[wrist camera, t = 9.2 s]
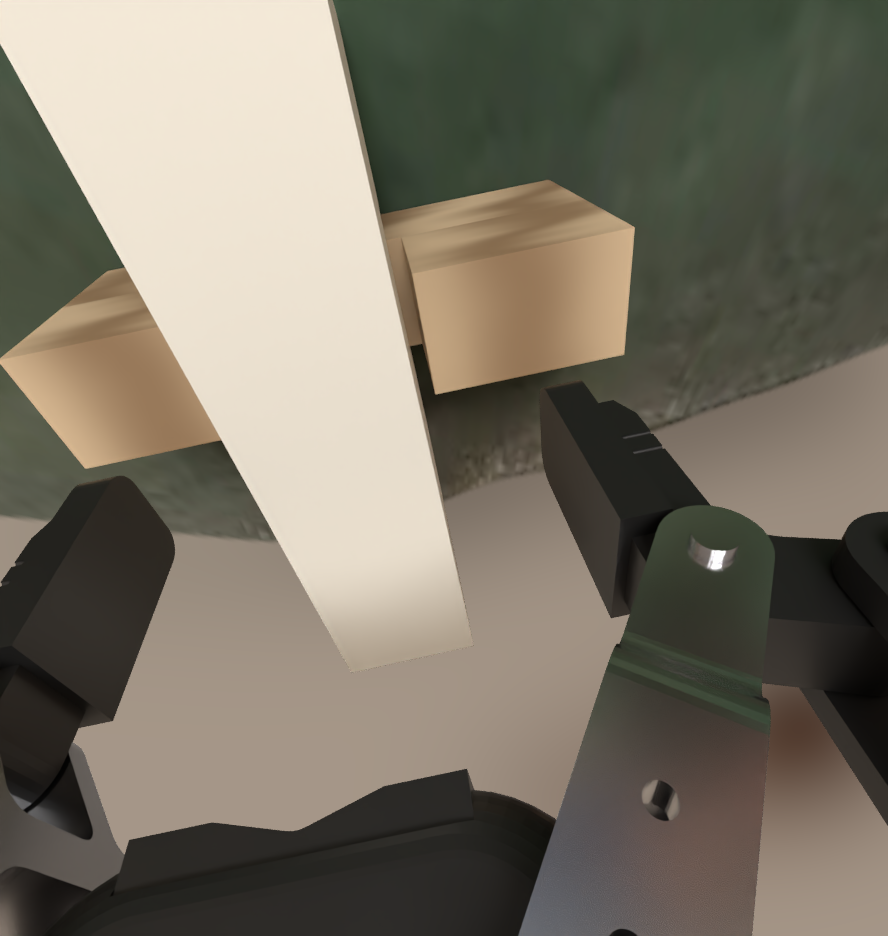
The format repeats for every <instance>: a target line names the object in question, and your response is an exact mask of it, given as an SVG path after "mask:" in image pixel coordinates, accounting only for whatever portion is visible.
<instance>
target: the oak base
mask: <svg viewBox="0 0 888 936" xmlns="http://www.w3.org/2000/svg"><path fill="white" fill-rule="evenodd" d="M381 220H382V224H383V229H384V234H385V238H386V243H387V247H388V252H389V256H390V261H391V265H392V270H393V274H394V279H395V283H396V288H397V292H398V297H399V301H400V306H401V310H402V315H403V319H404V324H405V328H406V333H407V337H408V342H409V346H414V345H418V344H423V348H424V352H425V355H426V359H427V363H428V367H429V371H430V375H431V379H432V383H433V387H434V391H435V395H436V394H440V393H445V392H450V391H455V390H459V389H464V388H469V387H473V386H478V385H483V384H488V383H492V382H497V381H502V380H506V379H511V378H516V377H521V376H525V375H530V374H535V373H539V372H544V371H549V370H554V369H558V368H563V367H568V366H572V365H577V364H582V363H586V362H591V361H596V360H601V359H605V358H610V357H615V356H619V355H624V349H625V337H626V325H627V313H628V301H629V289H630V278H631V266H632V254H633V242H634V230H635V227H633V226H631V225H630V224H628V223H626V222H624V221H622V220H621V219H619V218H617V217H615V216H613V215H612V214H610V213H608V212H606V211H604V210H603V209H601V208H599V207H597V206H595V205H594V204H592V203H590V202H588V201H586V200H585V199H583V198H581V197H579V196H577V195H575V194H574V193H572V192H570V191H568V190H566V189H565V188H563V187H561V186H559V185H557V184H556V183H554V182H552V181H550V180H545V181H540V182H535V183H530V184H525V185H521V186H516V187H511V188H506V189H501V190H497V191H492V192H487V193H482V194H477V195H472V196H468V197H463V198H458V199H453V200H448V201H443V202H439V203H434V204H429V205H424V206H419V207H415V208H410V209H405V210H400V211H395V212H390V213H386V214H381ZM0 364H1V365H2V366H3V368H4V369H5V370H6V371H7V373H8V374H9V375H10V376H11V377H12V379H13V380H14V381H15V382H16V384H17V385H18V386H19V387H20V389H21V390H22V391H23V392H24V394H25V395H26V396H27V397H28V398H29V400H30V401H31V402H32V403H33V405H34V406H35V407H36V408H37V410H38V411H39V412H40V413H41V415H42V416H43V417H44V418H45V419H46V421H47V422H48V423H49V424H50V426H51V427H52V428H53V429H54V431H55V432H56V433H57V434H58V436H59V437H60V438H61V439H62V440H63V442H64V443H65V444H66V445H67V447H68V448H69V449H70V450H71V452H72V453H73V454H74V455H75V457H76V458H77V459H78V460H79V461H80V463H81V464H82V465H83V466H84V468H85V469H87V468H92V467H96V466H101V465H106V464H110V463H115V462H120V461H125V460H129V459H134V458H139V457H143V456H148V455H153V454H158V453H162V452H167V451H172V450H176V449H181V448H186V447H191V446H195V445H200V444H205V443H209V442H214V441H219V440H221V438H220V436H219V435H218V433H217V431H216V429H215V427H214V426H213V424H212V422H211V420H210V418H209V417H208V415H207V413H206V411H205V409H204V408H203V406H202V404H201V402H200V400H199V399H198V397H197V395H196V393H195V392H194V390H193V388H192V386H191V384H190V383H189V381H188V379H187V377H186V375H185V374H184V372H183V370H182V368H181V366H180V365H179V363H178V361H177V359H176V358H175V356H174V354H173V352H172V350H171V349H170V347H169V345H168V343H167V341H166V340H165V338H164V336H163V334H162V332H161V331H160V329H159V327H158V325H157V323H156V322H155V320H154V318H153V316H152V315H151V313H150V311H149V309H148V307H147V306H146V304H145V302H144V300H143V298H142V297H141V295H140V293H139V291H138V289H137V288H136V286H135V284H134V282H133V280H132V279H131V277H130V275H129V273H128V272H127V270H126V268H120V269H116V270H111V271H107V272H106V273H104V274H103V275H102V276H101V277H100V278H98V279H97V280H96V281H95V282H93V283H92V284H91V285H90V286H89V287H87V288H86V289H85V290H84V291H82V292H81V293H80V294H79V295H77V296H76V297H75V298H74V299H73V300H71V301H70V302H69V303H68V304H66V305H65V306H64V307H63V308H62V309H60V310H59V311H58V312H57V313H55V314H54V315H53V316H52V317H50V318H49V319H48V320H47V321H46V322H44V323H43V324H42V325H41V326H39V327H38V328H37V329H36V330H34V331H33V332H32V333H31V334H30V335H28V336H27V337H26V338H25V339H23V340H22V341H21V342H20V343H19V344H17V345H16V346H15V347H14V348H12V349H11V350H10V351H9V352H7V353H6V354H5V355H4V356H3V357H1V358H0Z"/></svg>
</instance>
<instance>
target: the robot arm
mask: <svg viewBox="0 0 888 936" xmlns="http://www.w3.org/2000/svg"><path fill="white" fill-rule="evenodd" d="M540 422H541V446H542V458H543V464H544V469H545V473H546V476H547V479H548V481H549V484H550V486H551V488H552V490H553V493H554V495H555V497H556V499H557V501H558V504H559V506H560V508H561V510H562V512H563V515H564V517H565V519H566V521H567V523H568V526H569V528H570V530H571V532H572V534H573V536H574V539H575V540H576V543H577V545H578V547H579V550H580V552H581V554H582V556H583V558H584V560H585V562H586V565H587V567H588V569H589V571H590V573H591V576H592V578H593V580H594V582H595V585H596V586H597V589H598V591H599V593H600V595H601V597H602V600H603V602H604V604H605V606H606V608H607V611H608V613H609V615H610V617H611V618H614V617H619V616H623V615H628V614H630V615H629V618H628V622H627V625H626V628H625V631H624V634H623V637H622V639H621V642H620V644H616V646H615V648H614V650H613V652H612V654H611V657H610V660H609V662H608V666H607V668H606V671H605V674H604V677H603V680H602V683H601V686H600V689H599V693H598V695H597V698H596V702H595V704H594V708H593V710H592V714H591V717H590V720H589V723H588V726H587V729H586V732H585V735H584V738H583V741H582V744H581V747H580V750H579V753H578V756H577V759H576V762H575V765H574V768H573V771H572V774H571V778H570V780H569V784H568V787H567V789H566V792H565V795H564V799H563V801H562V805H561V808H560V811H559V814H558V817H557V820H556V819H555V818H553V817H551V816H550V815H548V814H546V813H545V812H543V811H541V810H540V809H538V808H536V807H534V806H532V805H530V804H527V803H525V802H523V801H520V800H518V799H516V798H513V797H509V796H505V795H501V794H497V793H494V792H486V791H477V790H474V788H473V785H472V782H471V779H470V776H469V773H468V771H467V769H464V770H459V771H455V772H450V773H445V774H440V775H435V776H431V777H426V778H421V779H417V780H412V781H407V782H402V783H398V784H393V785H388V786H384V787H382V788H380V789H378V790H376V791H374V792H372V793H370V794H368V795H366V796H365V797H363V798H361V799H359V800H357V801H355V802H353V803H351V804H349V805H347V806H345V807H344V808H342V809H340V810H338V811H336V812H334V813H332V814H330V815H328V816H326V817H324V818H322V819H321V820H319V821H317V822H315V823H313V824H311V825H309V826H307V827H305V828H303V829H300V830H297V831H279V830H271V829H263V828H254V827H245V826H236V825H229V824H220V823H208V824H203V825H199V826H194V827H189V828H184V829H179V830H175V831H170V832H165V833H161V834H156V835H151V836H146V837H142V838H137V839H132V840H129V843H128V846H127V849H126V853H125V855H124V854H123V853H122V851H121V850H120V849H119V847H118V846H117V844H116V842H115V840H114V838H113V835H112V832H111V830H110V827H109V824H108V821H107V818H106V815H105V812H104V809H103V807H102V804H101V801H100V798H99V795H98V792H97V789H96V786H95V783H94V780H93V778H92V775H91V772H90V769H89V766H88V764H87V760H86V757H85V755H84V752H83V751H82V749H81V748H80V747H79V746H78V745H76V744H75V743H73V740H74V737H75V735H76V732H77V730H78V728H81V727H86V726H91V725H96V724H100V723H105V722H110V721H113V719H114V716H115V714H116V711H117V708H118V706H119V703H120V701H121V698H122V695H123V692H124V690H125V687H126V685H127V682H128V679H129V677H130V674H131V672H132V669H133V666H134V664H135V661H136V658H137V655H138V653H139V650H140V648H141V645H142V642H143V640H144V637H145V634H146V632H147V629H148V626H149V624H150V621H151V619H152V616H153V613H154V611H155V608H156V605H157V603H158V600H159V598H160V595H161V592H162V590H163V587H164V584H165V582H166V579H167V576H168V574H169V571H170V568H171V566H172V563H173V560H174V555H175V547H174V546H175V545H174V540H173V537H172V534H171V532H170V530H169V529H168V527H167V526H166V525H165V523H164V522H163V521H162V519H161V518H160V517H159V515H158V514H157V513H156V511H155V510H154V509H153V507H152V506H151V505H150V503H149V502H148V501H147V499H146V498H145V497H144V495H143V494H142V493H141V491H140V490H139V489H138V488H137V486H136V485H135V484H134V483H133V481H131V480H130V479H129V478H127V477H125V476H116V477H111V478H107V479H102V480H97V481H92V482H88V483H83V484H79V485H77V486H76V487H75V488H74V489H73V490H72V491H71V493H70V494H69V496H68V497H67V499H66V500H65V501H64V503H63V504H62V506H61V507H60V509H59V510H58V512H57V513H56V515H55V516H54V518H53V519H52V520H51V521H50V522H49V523H48V524H47V525H46V526H45V527H44V528H43V529H41V530H40V531H39V532H38V533H37V534H36V535H35V536H34V537H33V538H31V540H30V541H29V543H28V544H27V546H26V547H25V548H24V550H23V551H22V553H21V554H20V556H19V557H18V559H17V560H16V561H15V563H16V566H15V567H11V568H10V570H9V571H8V573H7V574H6V576H5V577H4V578H3V580H2V581H1V583H2V586H1V587H0V936H752V931H753V920H754V907H755V896H756V885H757V874H758V863H759V862H758V861H759V851H760V839H761V827H762V817H763V806H764V805H763V804H764V794H765V782H766V771H767V760H768V748H769V737H770V705H769V701H768V700H767V699H766V698H763V696H762V683H766V684H774V685H783V686H792V687H799V688H800V690H801V691H802V693H803V694H804V696H805V697H806V699H807V700H808V702H809V704H810V705H811V707H812V708H813V710H814V711H815V713H816V714H817V716H818V718H819V719H820V721H821V722H822V724H823V725H824V727H825V729H826V730H827V732H828V733H829V735H830V736H831V738H832V739H833V741H834V743H835V744H836V746H837V747H838V749H839V750H840V752H841V753H842V755H843V757H844V758H845V760H846V761H847V763H848V764H849V766H850V768H851V769H852V771H853V772H854V773H855V775H856V777H857V779H858V780H859V782H860V783H861V785H862V786H863V788H864V789H865V791H866V792H867V794H868V796H869V797H870V799H871V800H872V802H873V804H874V805H875V806H876V808H877V809H878V811H879V813H880V814H881V816H882V818H883V819H884V821H885V822H886V824H887V825H888V512H877V513H871V514H866V515H864V516H861V517H859V518H857V519H856V520H854V521H853V522H852V523H851V524H850V525H849V526H848V528H847V530H846V532H845V534H844V535H843V537H842V540H837V539H816V538H796V537H780V536H772V535H767V534H766V533H765V532H764V530H763V529H762V528H761V527H759V526H758V525H757V524H756V523H755V522H753V521H751V520H750V519H749V518H747V517H745V516H743V515H741V514H739V513H737V512H734V511H732V510H728V509H725V508H721V507H715V506H711V505H710V504H709V503H708V502H707V500H706V499H705V498H704V497H703V495H702V494H701V493H700V492H699V490H698V489H697V488H696V487H695V486H694V484H693V483H692V482H691V480H690V479H689V478H688V477H687V476H686V474H685V473H684V472H683V470H682V469H681V468H680V467H679V466H678V464H677V463H676V462H675V461H674V459H673V458H672V457H671V456H670V454H669V453H668V452H667V451H666V449H662V445H661V443H660V442H659V441H658V439H657V438H656V437H655V436H654V434H651V433H650V429H649V428H648V427H647V426H646V424H645V423H644V422H643V421H642V420H641V418H640V417H639V416H638V415H637V413H636V412H634V411H632V410H630V409H628V408H626V407H625V406H623V405H621V404H619V403H617V402H616V401H614V400H612V401H607V402H602V403H598V402H597V401H596V399H595V398H594V397H593V395H592V394H591V392H590V391H589V390H588V388H587V387H586V385H585V384H584V383H583V382H582V381H580V380H579V381H574V382H569V383H564V384H559V385H555V386H550V387H545V388H542V389H541V390H540Z"/></svg>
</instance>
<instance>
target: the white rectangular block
mask: <svg viewBox="0 0 888 936" xmlns="http://www.w3.org/2000/svg"><path fill="white" fill-rule="evenodd" d="M0 44H1V46H2V48H3V49H4V51H5V53H6V55H7V57H8V58H9V60H10V62H11V64H12V66H13V67H14V69H15V71H16V73H17V75H18V76H19V78H20V80H21V82H22V83H23V85H24V87H25V89H26V91H27V92H28V94H29V96H30V98H31V100H32V101H33V103H34V105H35V107H36V109H37V110H38V112H39V114H40V116H41V118H42V119H43V121H44V123H45V125H46V126H47V128H48V130H49V132H50V134H51V135H52V137H53V139H54V141H55V143H56V144H57V146H58V148H59V150H60V152H61V153H62V155H63V157H64V159H65V160H66V162H67V164H68V166H69V168H70V169H71V171H72V173H73V175H74V177H75V178H76V180H77V182H78V184H79V186H80V187H81V189H82V191H83V193H84V195H85V196H86V198H87V200H88V202H89V203H90V205H91V207H92V209H93V211H94V212H95V214H96V216H97V218H98V220H99V221H100V223H101V225H102V227H103V229H104V230H105V232H106V234H107V236H108V238H109V239H110V241H111V243H112V245H113V246H114V248H115V250H116V252H117V254H118V255H119V257H120V259H121V261H122V263H123V264H124V266H125V268H126V270H127V272H128V273H129V275H130V277H131V279H132V280H133V282H134V284H135V286H136V288H137V289H138V291H139V293H140V295H141V297H142V298H143V300H144V302H145V304H146V306H147V307H148V309H149V311H150V313H151V315H152V316H153V318H154V320H155V322H156V323H157V325H158V327H159V329H160V331H161V332H162V334H163V336H164V338H165V340H166V341H167V343H168V345H169V347H170V349H171V350H172V352H173V354H174V356H175V358H176V359H177V361H178V363H179V365H180V366H181V368H182V370H183V372H184V374H185V375H186V377H187V379H188V381H189V383H190V384H191V386H192V388H193V390H194V392H195V393H196V395H197V397H198V399H199V400H200V402H201V404H202V406H203V408H204V409H205V411H206V413H207V415H208V417H209V418H210V420H211V422H212V424H213V426H214V427H215V429H216V431H217V433H218V435H219V436H220V438H221V440H222V442H223V443H224V445H225V447H226V449H227V451H228V452H229V454H230V456H231V458H232V460H233V461H234V463H235V465H236V467H237V469H238V470H239V472H240V474H241V476H242V478H243V479H244V481H245V483H246V485H247V486H248V488H249V490H250V492H251V494H252V495H253V497H254V499H255V501H256V503H257V504H258V506H259V508H260V510H261V512H262V513H263V515H264V517H265V519H266V521H267V522H268V524H269V526H270V528H271V529H272V531H273V533H274V535H275V537H276V538H277V540H278V542H279V544H280V546H281V547H282V549H283V551H284V553H285V555H286V556H287V558H288V560H289V562H290V563H291V565H292V567H293V569H294V571H295V572H296V574H297V576H298V578H299V580H300V581H301V583H302V585H303V587H304V589H305V590H306V592H307V594H308V596H309V598H310V599H311V601H312V603H313V605H314V606H315V608H316V610H317V612H318V614H319V615H320V617H321V619H322V621H323V622H324V624H325V626H326V628H327V629H328V632H329V633H330V635H331V637H332V639H333V640H334V642H335V644H336V646H337V648H338V649H339V651H340V653H341V655H342V657H343V658H344V660H345V662H346V664H347V665H348V667H349V669H350V671H351V672H352V673H354V672H358V671H363V670H367V669H372V668H377V667H381V666H386V665H390V664H395V663H399V662H404V661H408V660H413V659H417V658H422V657H426V656H431V655H435V654H440V653H445V652H449V651H453V650H458V649H463V648H467V647H472V646H474V645H473V640H472V635H471V630H470V625H469V621H468V616H467V611H466V606H465V601H464V597H463V592H462V587H461V582H460V578H459V573H458V568H457V563H456V559H455V554H454V549H453V545H452V541H451V535H450V530H449V525H448V521H447V516H446V511H445V506H444V502H443V497H442V492H441V487H440V483H439V478H438V473H437V468H436V464H435V459H434V454H433V449H432V445H431V440H430V435H429V430H428V426H427V421H426V416H425V412H424V407H423V403H422V398H421V393H420V389H419V384H418V380H417V375H416V371H415V366H414V362H413V357H412V353H411V348H410V346H409V342H408V337H407V333H406V328H405V324H404V319H403V315H402V310H401V306H400V301H399V297H398V292H397V288H396V283H395V279H394V274H393V270H392V265H391V261H390V256H389V252H388V247H387V243H386V238H385V234H384V229H383V224H382V220H381V215H380V210H379V205H378V199H377V194H376V190H375V185H374V181H373V176H372V172H371V167H370V163H369V158H368V154H367V149H366V145H365V140H364V135H363V131H362V126H361V122H360V117H359V113H358V108H357V104H356V99H355V95H354V90H353V86H352V81H351V77H350V72H349V68H348V63H347V59H346V54H345V49H344V45H343V40H342V36H341V31H340V27H339V22H338V18H337V14H336V10H335V7H334V4H333V0H0Z"/></svg>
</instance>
